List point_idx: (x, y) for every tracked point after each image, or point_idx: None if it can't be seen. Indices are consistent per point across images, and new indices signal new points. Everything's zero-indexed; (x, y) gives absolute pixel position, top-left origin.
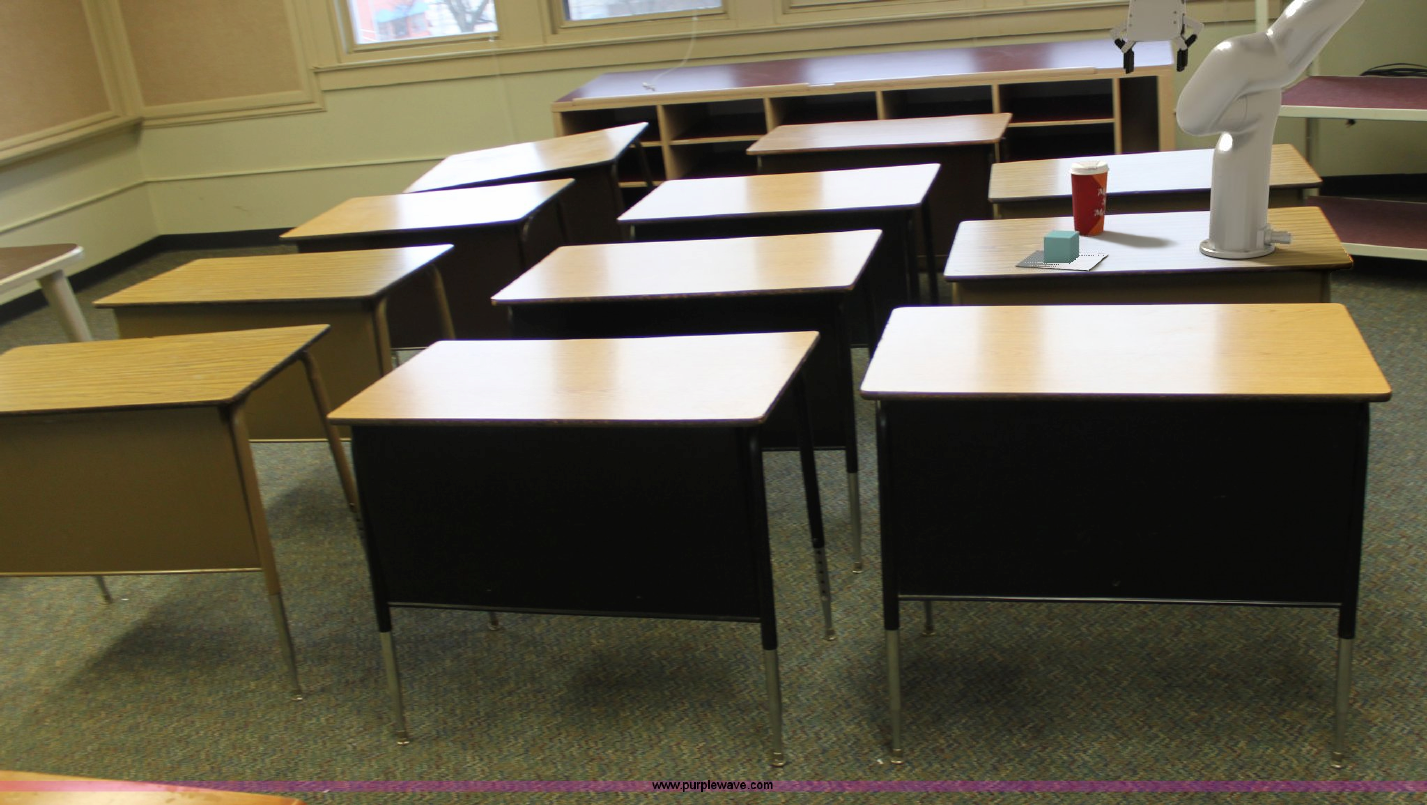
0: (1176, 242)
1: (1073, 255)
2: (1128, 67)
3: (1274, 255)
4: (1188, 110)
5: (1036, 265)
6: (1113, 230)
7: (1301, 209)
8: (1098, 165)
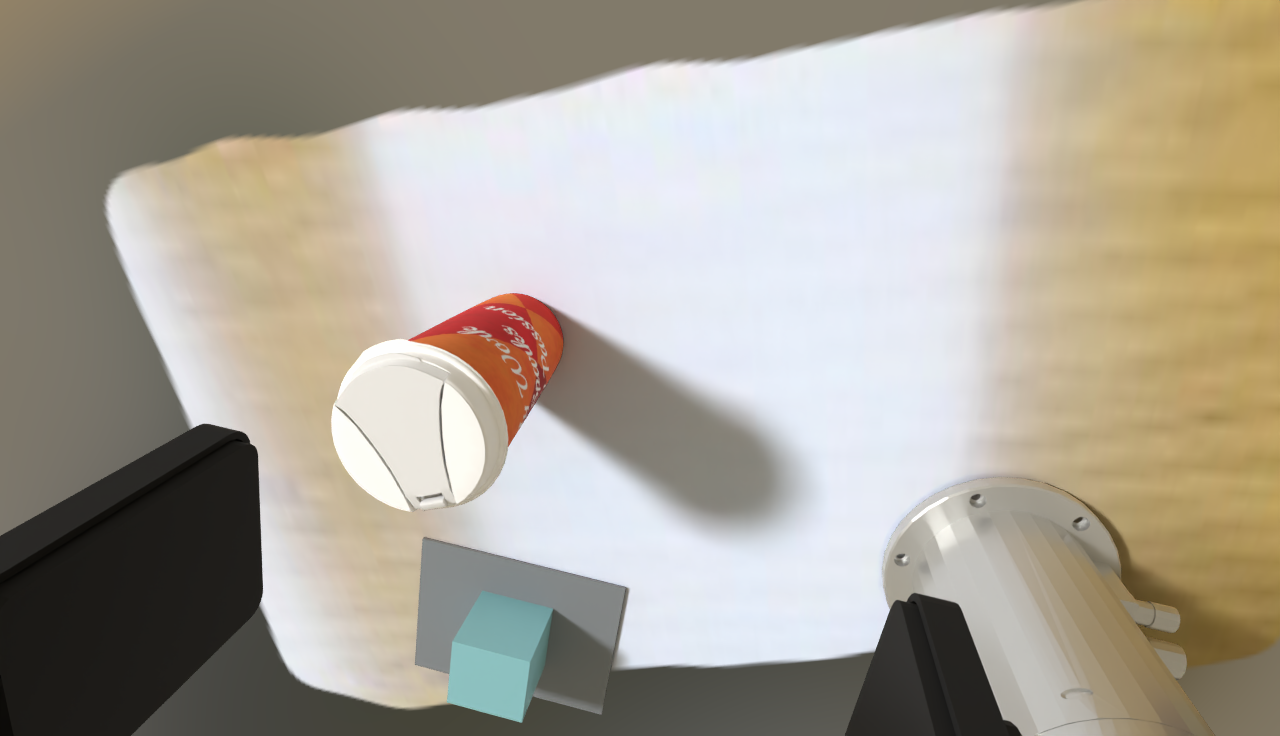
0: (811, 474)
1: (542, 656)
2: (201, 654)
3: None
4: None
5: None
6: (593, 316)
7: None
8: (456, 478)
